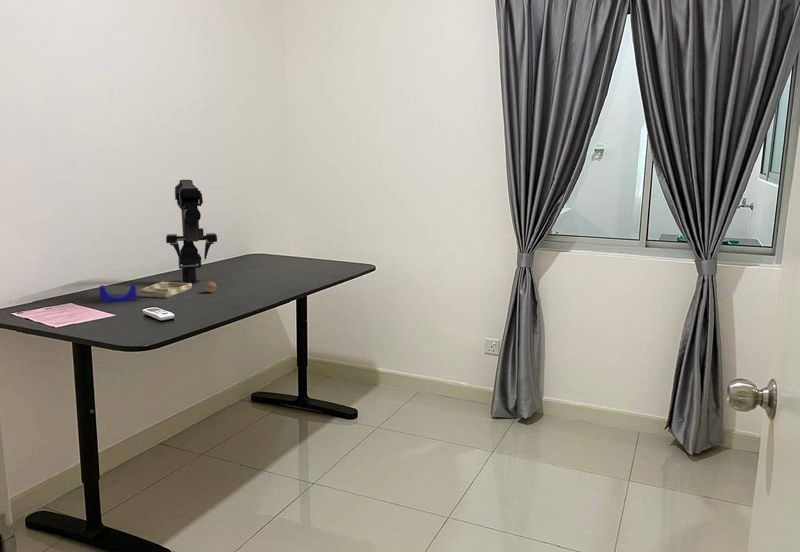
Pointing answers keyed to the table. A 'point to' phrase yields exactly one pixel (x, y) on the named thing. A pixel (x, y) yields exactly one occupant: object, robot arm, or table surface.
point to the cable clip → (122, 298)
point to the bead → (210, 286)
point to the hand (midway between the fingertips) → (192, 260)
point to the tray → (155, 292)
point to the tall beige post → (164, 287)
